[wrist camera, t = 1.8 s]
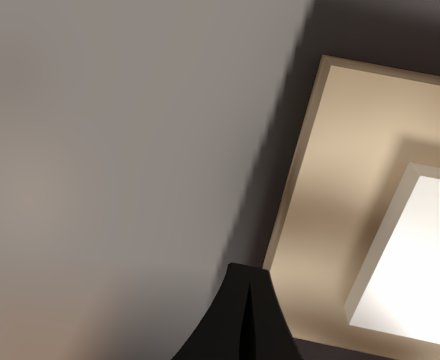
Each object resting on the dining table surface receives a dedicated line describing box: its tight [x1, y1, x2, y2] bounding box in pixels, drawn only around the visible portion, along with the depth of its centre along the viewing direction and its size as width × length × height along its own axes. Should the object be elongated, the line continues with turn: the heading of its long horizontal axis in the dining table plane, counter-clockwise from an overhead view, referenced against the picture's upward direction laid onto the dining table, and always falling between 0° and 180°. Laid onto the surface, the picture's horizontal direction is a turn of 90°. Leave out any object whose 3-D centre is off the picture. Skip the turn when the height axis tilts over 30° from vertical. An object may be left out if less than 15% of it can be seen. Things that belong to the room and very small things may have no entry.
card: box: [344, 162, 440, 344], centre depth 15 cm, size 8×5×1 cm, turn 171°
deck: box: [262, 55, 440, 360], centre depth 17 cm, size 14×10×2 cm
